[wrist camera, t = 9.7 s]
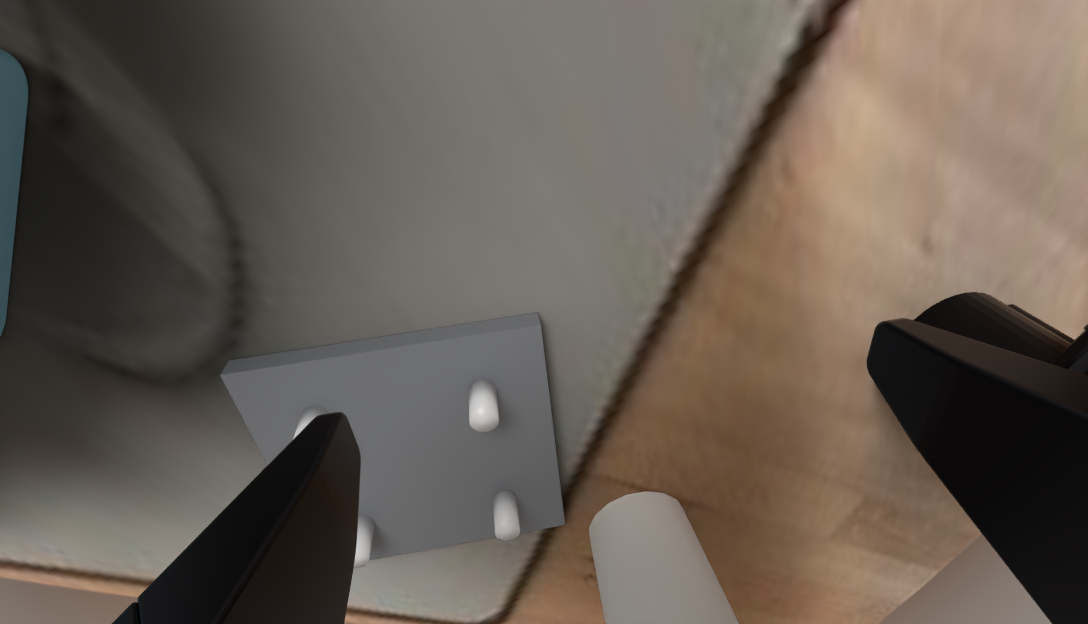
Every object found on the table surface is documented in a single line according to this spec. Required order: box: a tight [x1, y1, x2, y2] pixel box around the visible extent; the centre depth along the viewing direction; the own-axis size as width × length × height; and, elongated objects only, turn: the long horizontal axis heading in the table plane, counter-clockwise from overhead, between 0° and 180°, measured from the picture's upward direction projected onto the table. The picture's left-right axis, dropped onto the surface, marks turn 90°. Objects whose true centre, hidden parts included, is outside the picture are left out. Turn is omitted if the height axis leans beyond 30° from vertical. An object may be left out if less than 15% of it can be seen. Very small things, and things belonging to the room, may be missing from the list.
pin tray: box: [220, 313, 565, 568], centre depth 25 cm, size 13×13×3 cm
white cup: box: [589, 491, 739, 624], centre depth 28 cm, size 7×7×10 cm
